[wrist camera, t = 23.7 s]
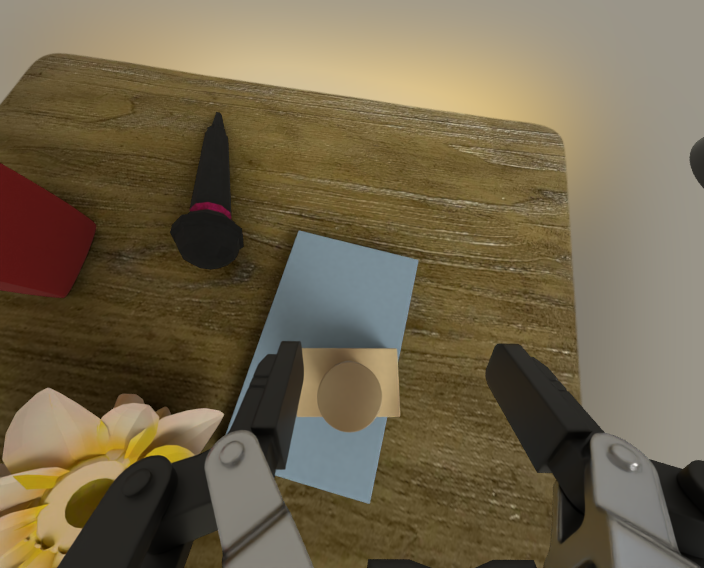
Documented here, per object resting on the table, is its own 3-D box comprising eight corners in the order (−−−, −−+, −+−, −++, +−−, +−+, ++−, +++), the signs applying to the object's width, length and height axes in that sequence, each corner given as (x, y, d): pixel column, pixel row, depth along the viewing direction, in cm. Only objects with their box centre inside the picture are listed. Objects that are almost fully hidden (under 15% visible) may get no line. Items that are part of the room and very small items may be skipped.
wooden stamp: (389, 349, 22) (426, 342, 12) (391, 407, 20) (435, 456, 10) (307, 349, 22) (272, 342, 11) (304, 407, 20) (262, 457, 10)
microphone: (218, 144, 33) (209, 284, 25) (177, 100, 27) (149, 260, 20) (254, 127, 31) (256, 268, 23) (218, 78, 26) (206, 238, 18)
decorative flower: (170, 684, 15) (-169, 1101, 6) (50, 600, 18) (-297, 803, 9) (254, 413, 20) (135, 430, 12) (150, 382, 23) (-9, 377, 14)
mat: (415, 264, 25) (418, 259, 24) (368, 495, 20) (369, 504, 19) (300, 235, 26) (298, 230, 25) (224, 452, 20) (216, 458, 19)
